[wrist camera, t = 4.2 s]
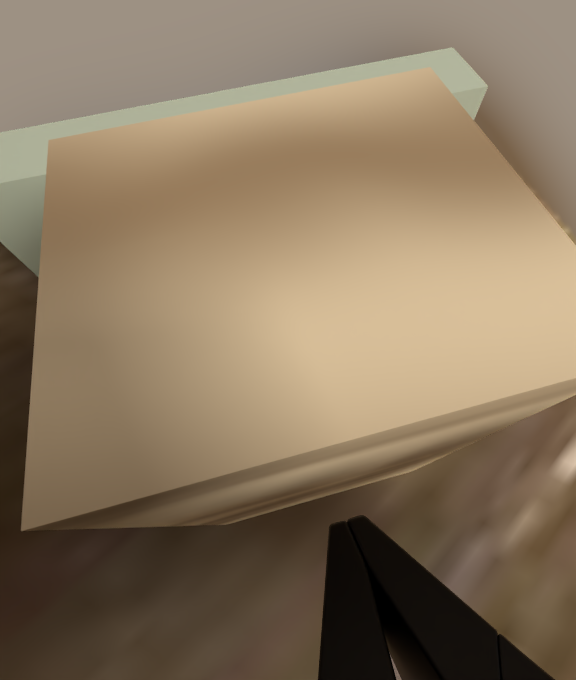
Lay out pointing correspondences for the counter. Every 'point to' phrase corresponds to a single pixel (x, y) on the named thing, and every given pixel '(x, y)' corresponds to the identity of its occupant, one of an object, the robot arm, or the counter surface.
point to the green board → (32, 142)
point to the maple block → (284, 305)
